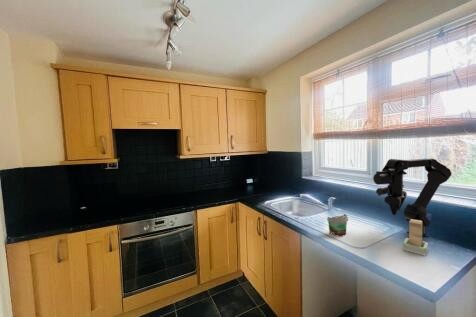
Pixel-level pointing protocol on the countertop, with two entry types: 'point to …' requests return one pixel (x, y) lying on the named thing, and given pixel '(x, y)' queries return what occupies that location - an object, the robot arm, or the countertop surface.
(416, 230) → the slat
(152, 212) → the countertop surface
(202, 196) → the countertop surface
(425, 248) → the end cap
